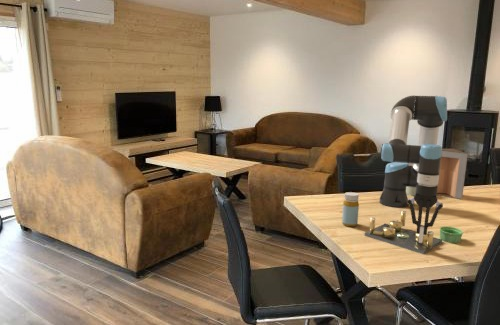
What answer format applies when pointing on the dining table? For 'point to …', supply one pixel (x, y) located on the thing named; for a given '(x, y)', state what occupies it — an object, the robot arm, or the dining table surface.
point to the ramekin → (450, 234)
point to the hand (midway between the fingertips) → (420, 241)
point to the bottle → (350, 209)
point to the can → (411, 191)
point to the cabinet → (452, 173)
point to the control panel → (404, 239)
